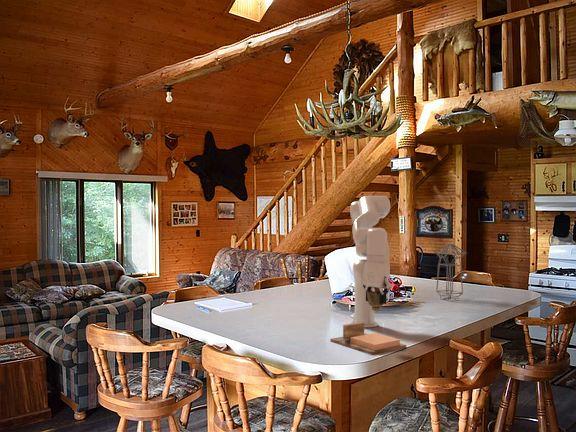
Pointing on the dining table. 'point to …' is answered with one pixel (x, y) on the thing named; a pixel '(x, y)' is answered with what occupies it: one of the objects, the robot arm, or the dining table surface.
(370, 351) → the walnut board
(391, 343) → the tile
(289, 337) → the dining table surface
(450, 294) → the geometric lantern
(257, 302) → the dining table surface
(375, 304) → the cup
